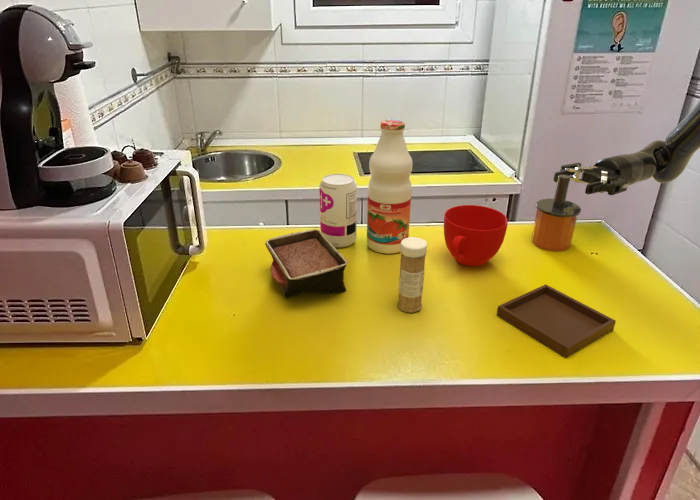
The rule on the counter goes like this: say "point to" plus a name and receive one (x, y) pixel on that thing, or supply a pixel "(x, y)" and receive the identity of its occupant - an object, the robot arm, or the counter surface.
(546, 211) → the grey peg stand
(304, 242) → the baking dish
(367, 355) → the counter surface
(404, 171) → the fruit juice
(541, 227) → the jar
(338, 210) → the supplement can
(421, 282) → the sprinkles bottle
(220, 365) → the counter surface
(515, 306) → the tray
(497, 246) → the ceramic cup
